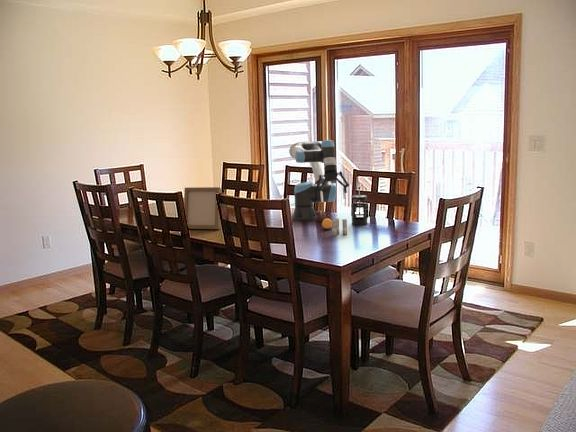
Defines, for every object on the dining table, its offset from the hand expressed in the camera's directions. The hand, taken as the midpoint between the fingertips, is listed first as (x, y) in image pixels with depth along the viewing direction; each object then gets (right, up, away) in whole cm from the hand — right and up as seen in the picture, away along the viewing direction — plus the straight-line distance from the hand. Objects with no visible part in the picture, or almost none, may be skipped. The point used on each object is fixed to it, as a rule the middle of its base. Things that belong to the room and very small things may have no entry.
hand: (333, 200), depth 327 cm
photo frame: (-77, -17, +10) cm, 80 cm away
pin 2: (+5, -19, -21) cm, 29 cm away
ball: (-4, -14, -5) cm, 15 cm away
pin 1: (-1, -20, -23) cm, 31 cm away
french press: (+17, -14, +7) cm, 23 cm away
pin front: (0, -19, -18) cm, 27 cm away
